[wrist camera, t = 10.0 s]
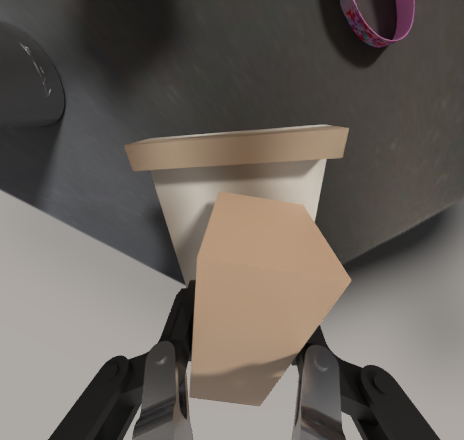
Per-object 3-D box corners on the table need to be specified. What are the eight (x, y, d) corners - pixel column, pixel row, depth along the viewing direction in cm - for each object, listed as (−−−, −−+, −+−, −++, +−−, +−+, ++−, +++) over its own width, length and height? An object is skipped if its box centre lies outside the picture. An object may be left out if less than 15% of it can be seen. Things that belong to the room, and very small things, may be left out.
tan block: (204, 319, 16) (189, 397, 11) (218, 191, 9) (196, 257, 5) (255, 325, 16) (259, 406, 11) (302, 204, 9) (351, 280, 5)
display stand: (209, 243, 31) (184, 341, 18) (189, 126, 22) (104, 146, 8) (280, 242, 30) (310, 344, 17) (290, 117, 20) (374, 126, 7)
